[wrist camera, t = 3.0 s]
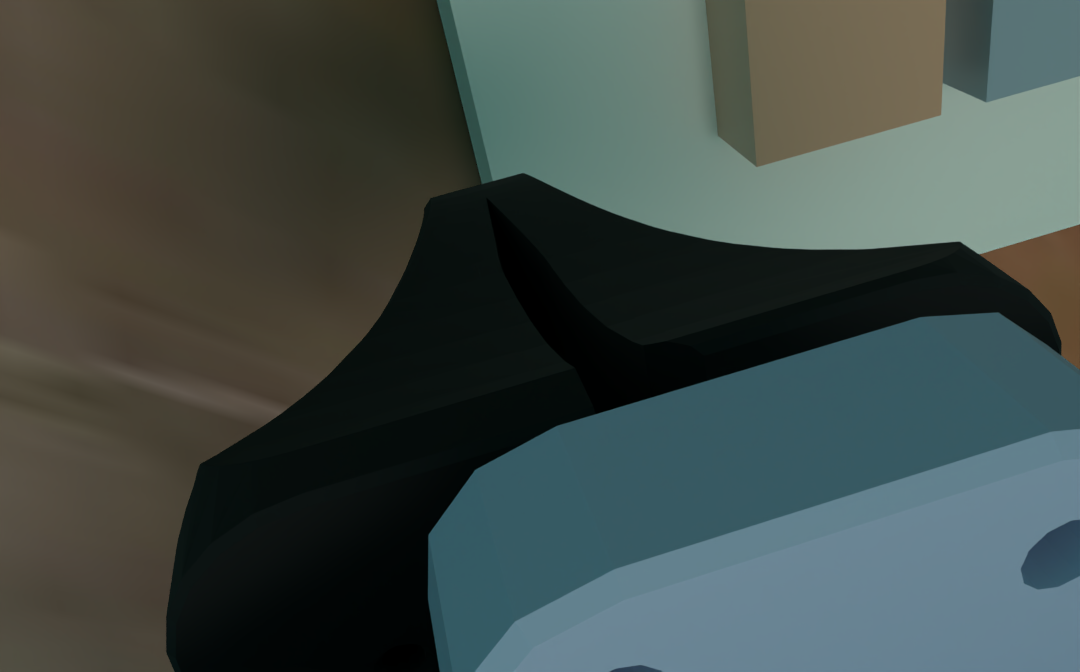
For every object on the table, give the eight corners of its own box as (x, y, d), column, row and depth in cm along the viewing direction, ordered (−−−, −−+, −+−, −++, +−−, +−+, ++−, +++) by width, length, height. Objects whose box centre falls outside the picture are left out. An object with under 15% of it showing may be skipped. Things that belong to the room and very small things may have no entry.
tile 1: (887, 88, 20) (941, 114, 19) (717, 135, 20) (756, 166, 18) (889, -108, 18) (950, -97, 17) (699, -59, 18) (741, -43, 16)
